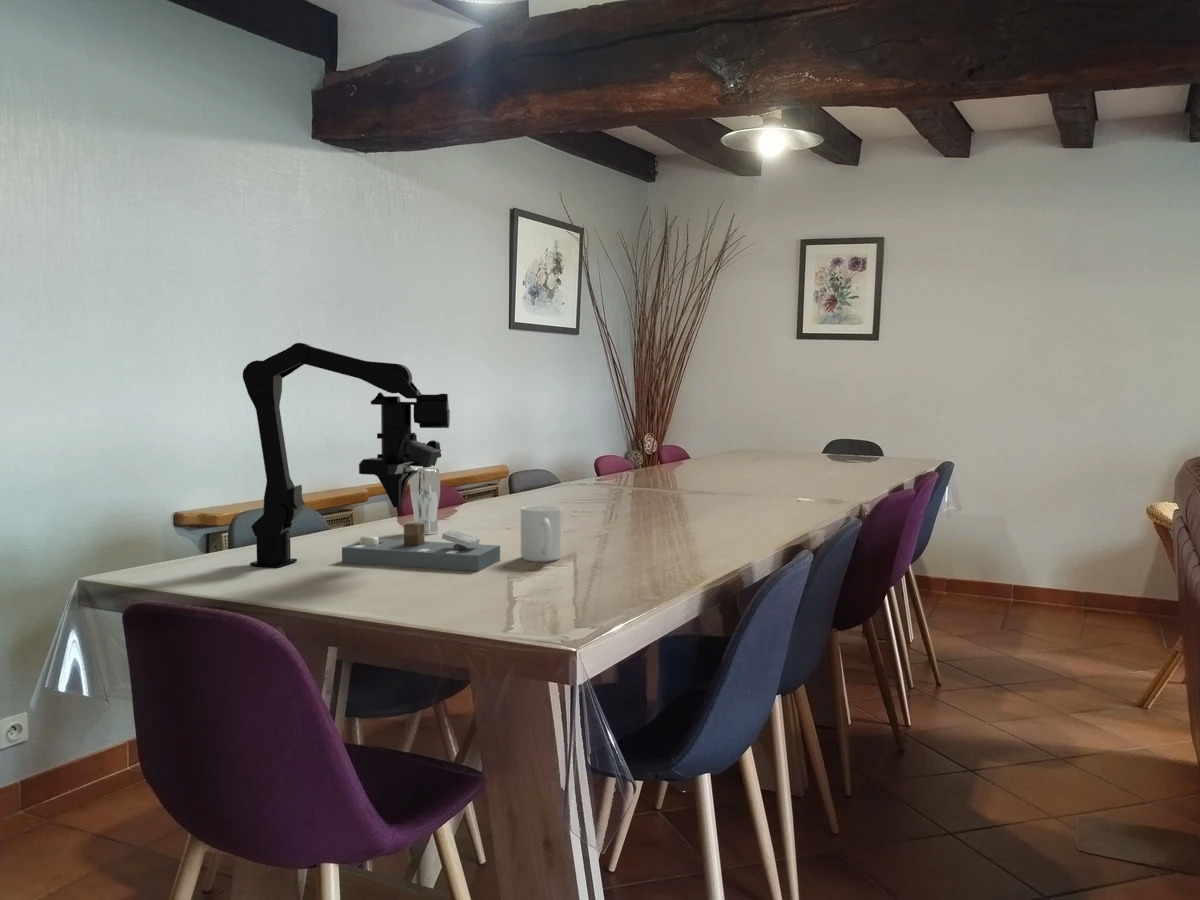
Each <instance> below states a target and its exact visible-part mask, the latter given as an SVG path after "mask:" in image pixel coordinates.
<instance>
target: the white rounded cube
mask: <svg viewBox="0 0 1200 900" xmlns="http://www.w3.org/2000/svg"><path fill="white" fill-rule="evenodd" d="M359 539H360V541H359V542H360V545H366V546H376V545H378V544H379V539H380V538H379V536H377V535H365V536H361V537H360V538H359Z"/></svg>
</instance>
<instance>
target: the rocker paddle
mask: <svg viewBox="0 0 1200 900" xmlns="http://www.w3.org/2000/svg"><path fill="white" fill-rule="evenodd" d="M441 539H443V540H445V541H448V542H450V543H457V544H460V545H463V546H465V547H468V548H470V547H473V546H475V545H477V544H480V540H481V538H478V537H475V536H472V535H469V534H466V533H463V532H460V531H457V530H454V529H450V530H449V531H446V532H444V533H442V536H441Z"/></svg>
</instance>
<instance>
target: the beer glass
mask: <svg viewBox="0 0 1200 900" xmlns="http://www.w3.org/2000/svg"><path fill="white" fill-rule="evenodd" d="M412 471H418V472H417V473H416V474H414V475H413V476H412V477H411V478H410V479H409V481H410V482H409V489H410V490H409V491H410V500H411V506H412V510H413V521H421V522H422V523H424V536H428V535H429V536H430V535H435V534H439V531H440V530H439V529H440V528H439V525H438V509H439V503H440V496H441V477H440V469H439V468H433V467H432V468H431V467H427V468H423V467H421V468H419V467H418V468H412Z"/></svg>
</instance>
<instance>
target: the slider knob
mask: <svg viewBox="0 0 1200 900" xmlns="http://www.w3.org/2000/svg"><path fill="white" fill-rule="evenodd" d="M403 540H404V545H420V544H423V543H424V541H425V535H424V523H422V522H421V521H414V520H409V521H407V522H405V524H403Z"/></svg>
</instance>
